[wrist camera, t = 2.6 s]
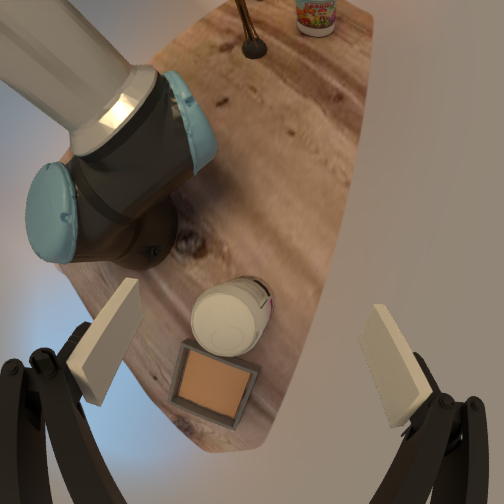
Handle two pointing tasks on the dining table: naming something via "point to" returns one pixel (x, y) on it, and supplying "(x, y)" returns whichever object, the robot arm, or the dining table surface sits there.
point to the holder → (211, 384)
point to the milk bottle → (315, 16)
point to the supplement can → (232, 315)
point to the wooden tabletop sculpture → (250, 35)
